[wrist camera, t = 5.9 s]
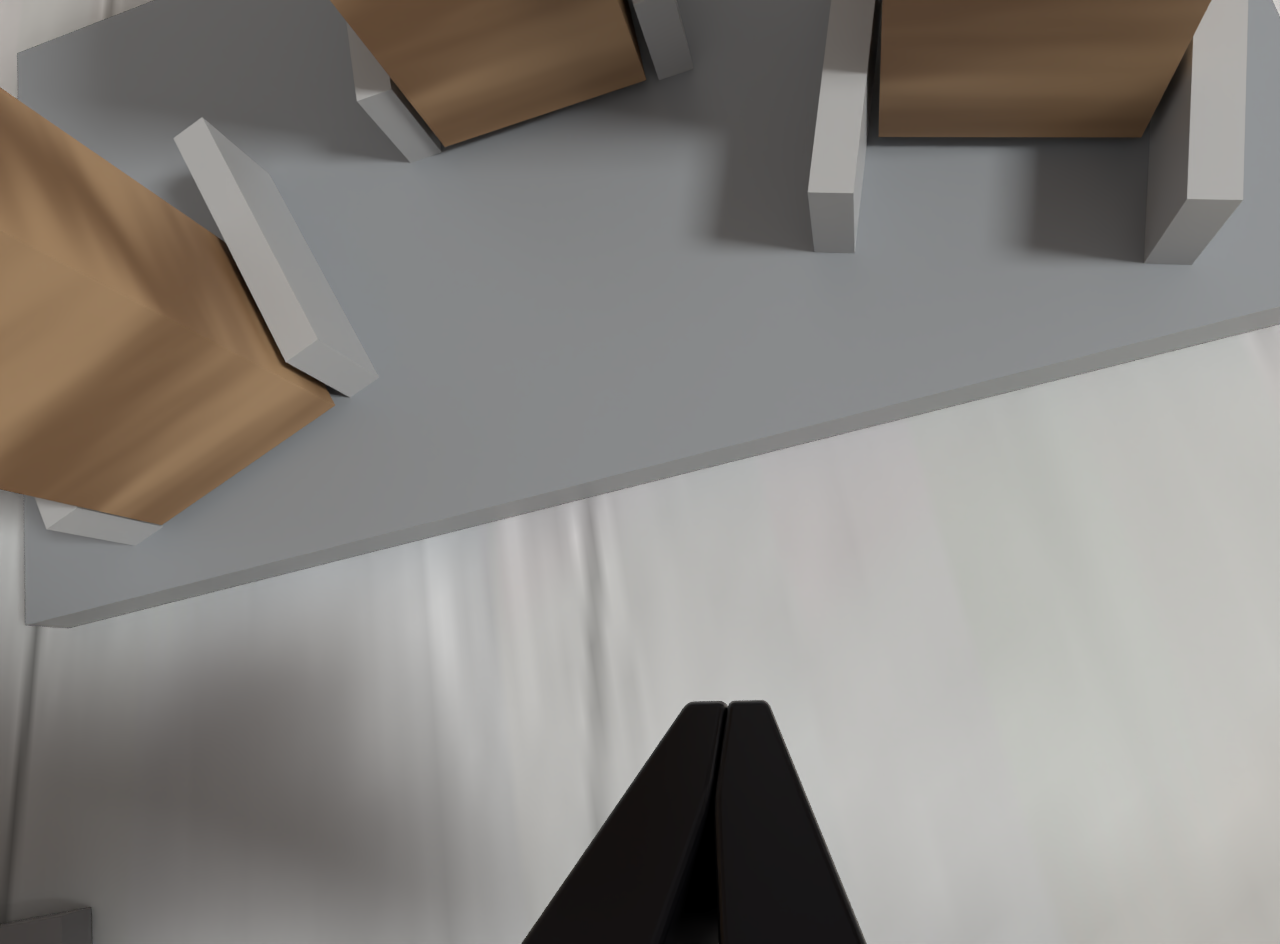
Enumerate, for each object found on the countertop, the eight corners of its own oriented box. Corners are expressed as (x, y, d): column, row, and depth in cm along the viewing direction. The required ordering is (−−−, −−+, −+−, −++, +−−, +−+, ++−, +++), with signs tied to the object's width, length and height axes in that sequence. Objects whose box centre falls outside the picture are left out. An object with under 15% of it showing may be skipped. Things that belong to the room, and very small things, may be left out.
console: (1363, 302, 21) (1487, 209, 17) (68, 628, 28) (-76, 618, 24) (1089, -312, 27) (1133, -502, 22) (53, 80, 33) (-67, -9, 29)
